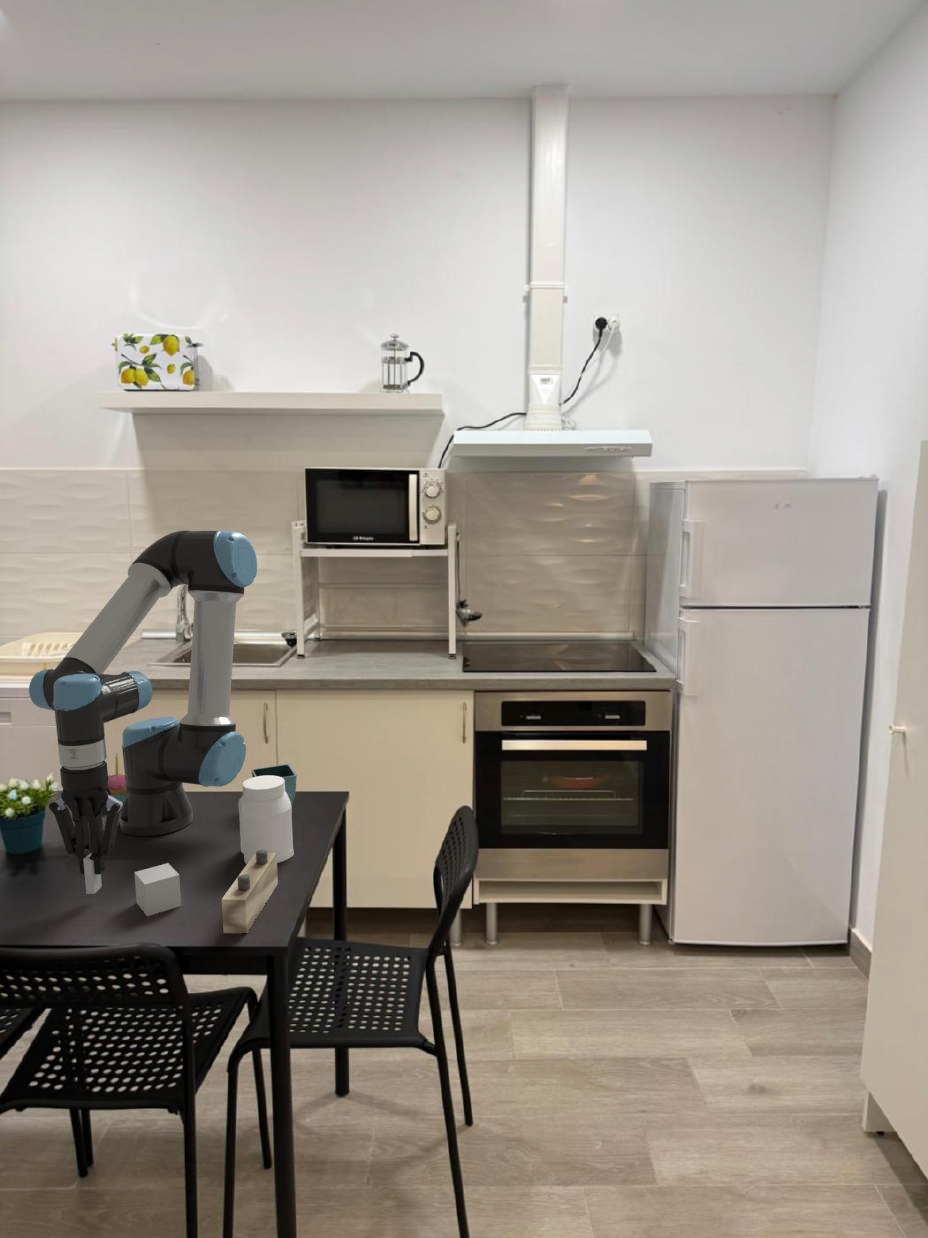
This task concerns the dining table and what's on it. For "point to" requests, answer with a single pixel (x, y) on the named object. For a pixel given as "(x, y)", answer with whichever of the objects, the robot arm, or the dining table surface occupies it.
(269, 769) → the flower pot
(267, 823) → the jar
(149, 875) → the white cube
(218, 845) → the dining table surface
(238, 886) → the block
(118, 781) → the cupcake
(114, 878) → the dining table surface
